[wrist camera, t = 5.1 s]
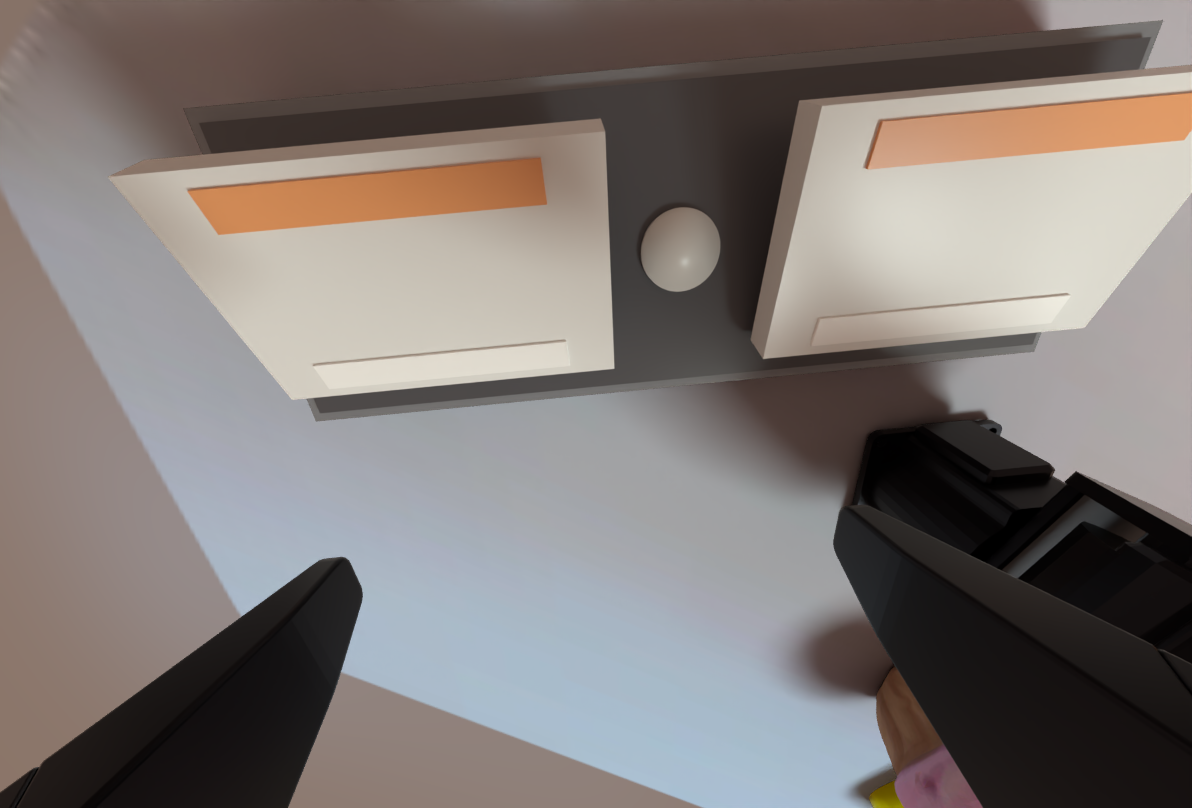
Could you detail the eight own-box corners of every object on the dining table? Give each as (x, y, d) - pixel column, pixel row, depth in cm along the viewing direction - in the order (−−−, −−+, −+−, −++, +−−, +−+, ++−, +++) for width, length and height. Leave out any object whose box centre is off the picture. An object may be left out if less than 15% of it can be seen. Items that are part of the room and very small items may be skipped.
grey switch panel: (968, 330, 19) (1044, 355, 16) (352, 389, 19) (310, 426, 16) (1055, 53, 15) (1181, 14, 12) (255, 125, 14) (170, 105, 11)
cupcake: (991, 653, 30) (1171, 848, 21) (918, 722, 33) (1045, 914, 24) (887, 635, 28) (1033, 836, 19) (821, 709, 32) (920, 908, 23)
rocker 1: (610, 347, 15) (614, 370, 14) (306, 376, 15) (290, 401, 14) (600, 118, 10) (605, 132, 9) (144, 160, 10) (103, 178, 9)
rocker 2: (1052, 310, 15) (1087, 329, 14) (750, 339, 15) (764, 360, 14) (1231, 60, 11) (1300, 62, 10) (799, 100, 10) (824, 106, 9)
